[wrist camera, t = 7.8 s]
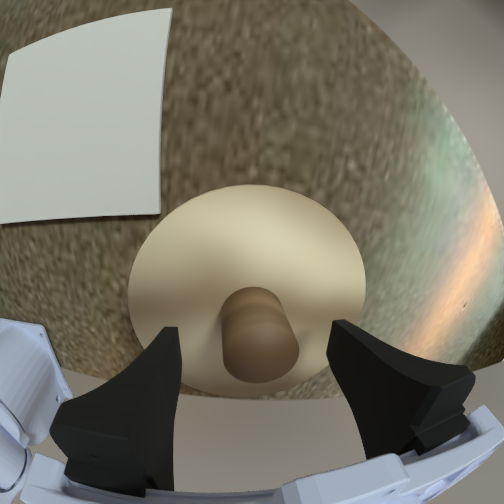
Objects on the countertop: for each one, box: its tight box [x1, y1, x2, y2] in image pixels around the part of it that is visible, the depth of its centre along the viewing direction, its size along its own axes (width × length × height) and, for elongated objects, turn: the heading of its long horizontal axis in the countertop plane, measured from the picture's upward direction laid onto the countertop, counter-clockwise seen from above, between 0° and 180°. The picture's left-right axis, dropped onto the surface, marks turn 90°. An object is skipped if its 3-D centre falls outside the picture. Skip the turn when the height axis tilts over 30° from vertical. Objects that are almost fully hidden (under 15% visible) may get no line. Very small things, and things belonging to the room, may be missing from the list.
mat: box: [0, 8, 173, 224], centre depth 14 cm, size 15×15×1 cm
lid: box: [128, 184, 366, 397], centre depth 13 cm, size 13×13×4 cm
